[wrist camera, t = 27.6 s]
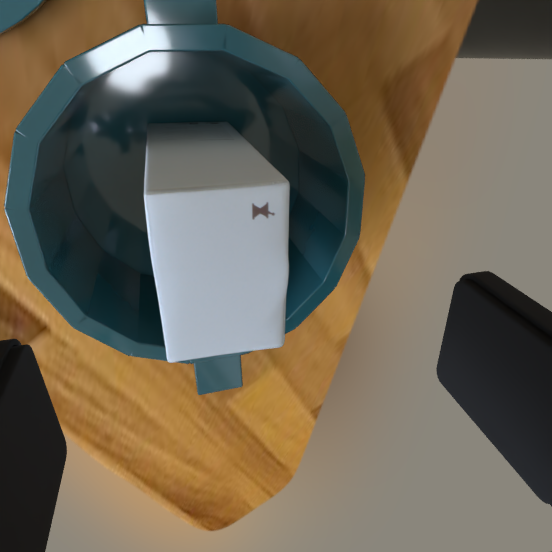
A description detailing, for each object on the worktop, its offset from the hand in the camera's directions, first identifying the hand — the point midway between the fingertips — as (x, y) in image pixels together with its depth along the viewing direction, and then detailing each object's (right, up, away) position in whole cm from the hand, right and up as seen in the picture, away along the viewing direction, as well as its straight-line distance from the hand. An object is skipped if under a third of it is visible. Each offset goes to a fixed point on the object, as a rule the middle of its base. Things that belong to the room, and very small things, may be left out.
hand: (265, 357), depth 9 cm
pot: (-5, +7, +14) cm, 17 cm away
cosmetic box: (-4, +7, +14) cm, 16 cm away
